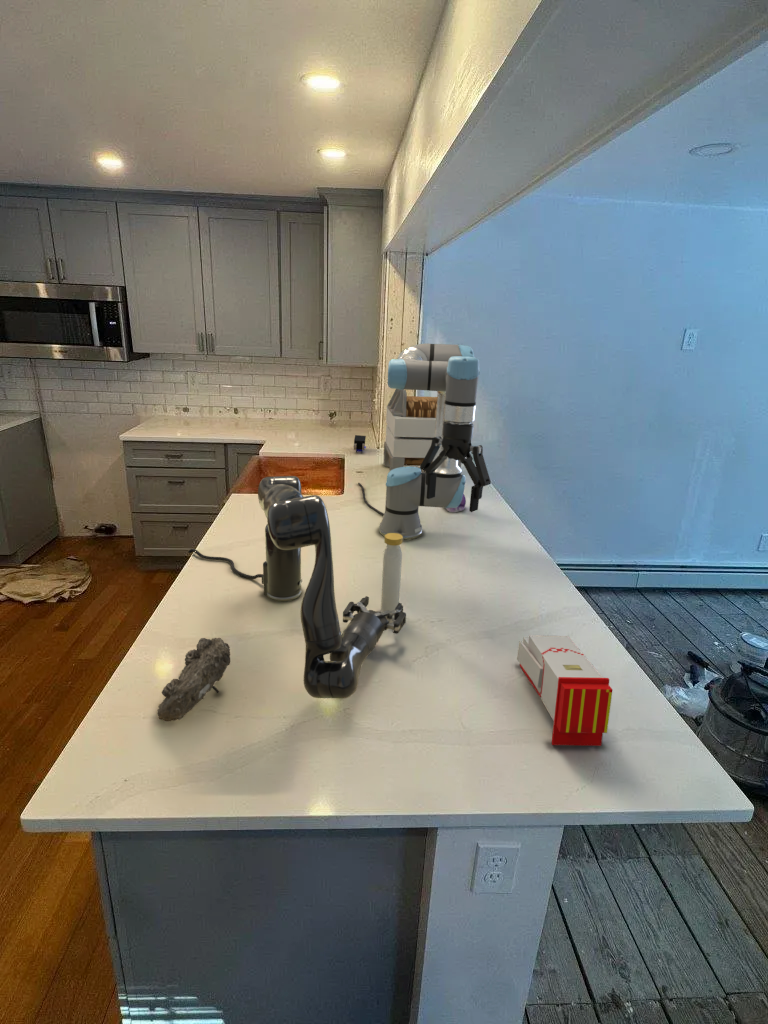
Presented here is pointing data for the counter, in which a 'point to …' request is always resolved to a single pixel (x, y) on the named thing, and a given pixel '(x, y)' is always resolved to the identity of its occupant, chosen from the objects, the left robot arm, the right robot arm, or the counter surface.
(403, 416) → the white slatted box
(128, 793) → the counter surface
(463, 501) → the figurine
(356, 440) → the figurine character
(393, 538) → the cap
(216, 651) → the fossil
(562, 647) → the toy
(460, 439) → the right robot arm
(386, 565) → the bottle
